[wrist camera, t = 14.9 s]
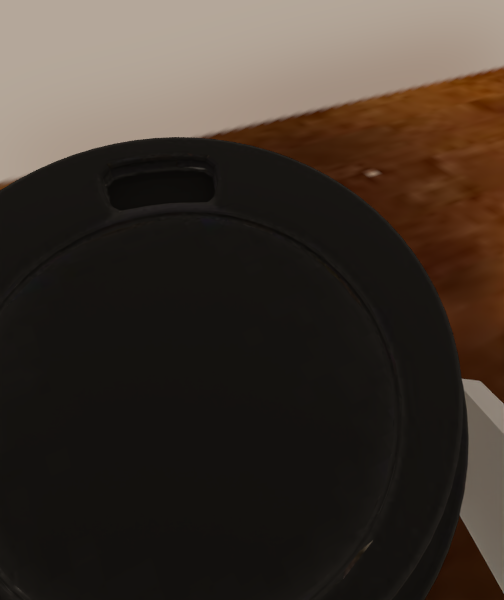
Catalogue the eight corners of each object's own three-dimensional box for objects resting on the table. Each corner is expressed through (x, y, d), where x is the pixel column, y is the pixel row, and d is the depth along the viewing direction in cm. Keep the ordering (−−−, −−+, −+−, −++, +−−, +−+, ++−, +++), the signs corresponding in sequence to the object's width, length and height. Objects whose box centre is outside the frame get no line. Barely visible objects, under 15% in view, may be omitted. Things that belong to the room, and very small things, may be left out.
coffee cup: (228, 339, 22) (243, 47, 9) (360, 502, 19) (665, 405, 6) (51, 459, 19) (-307, 269, 6) (173, 679, 16) (-34, 1288, 3)
